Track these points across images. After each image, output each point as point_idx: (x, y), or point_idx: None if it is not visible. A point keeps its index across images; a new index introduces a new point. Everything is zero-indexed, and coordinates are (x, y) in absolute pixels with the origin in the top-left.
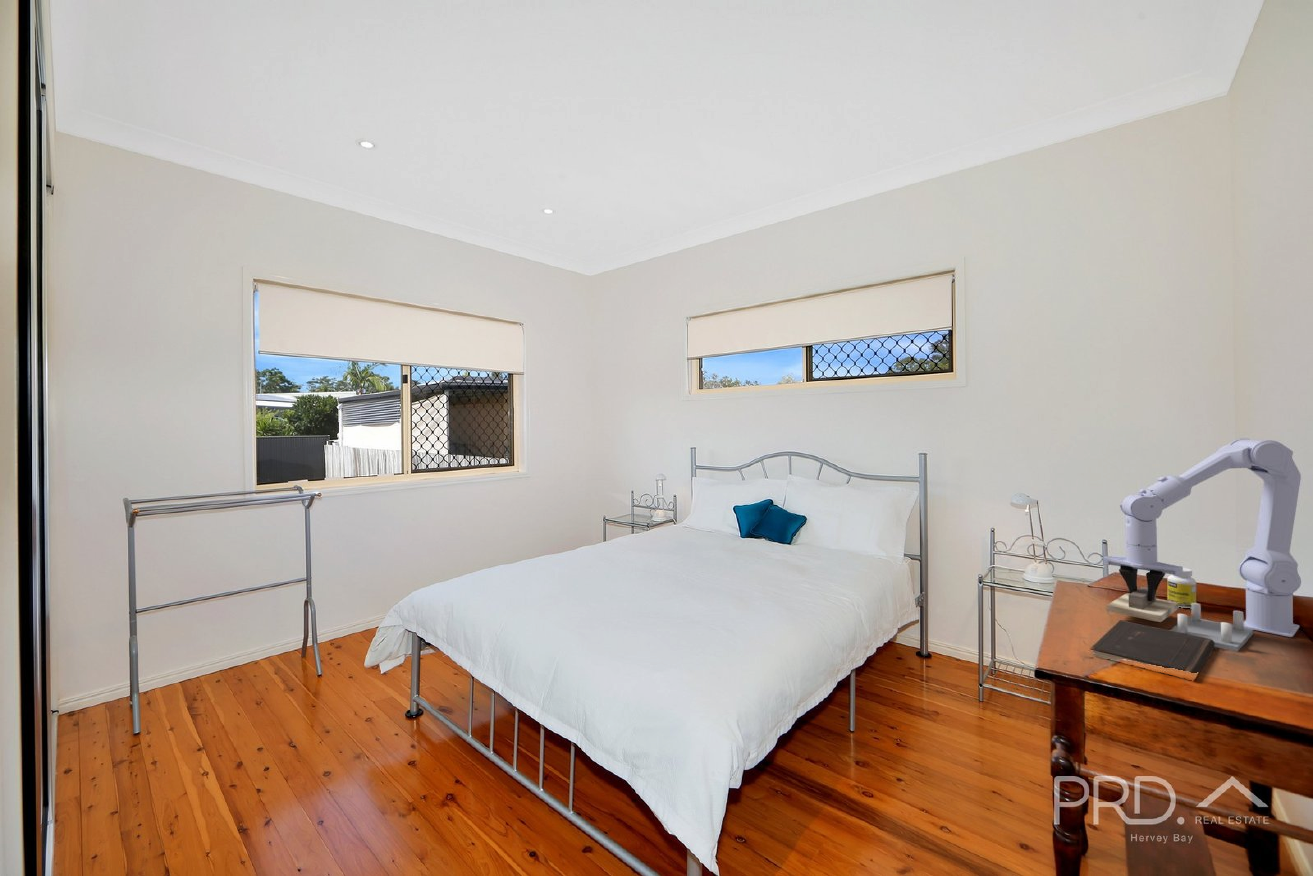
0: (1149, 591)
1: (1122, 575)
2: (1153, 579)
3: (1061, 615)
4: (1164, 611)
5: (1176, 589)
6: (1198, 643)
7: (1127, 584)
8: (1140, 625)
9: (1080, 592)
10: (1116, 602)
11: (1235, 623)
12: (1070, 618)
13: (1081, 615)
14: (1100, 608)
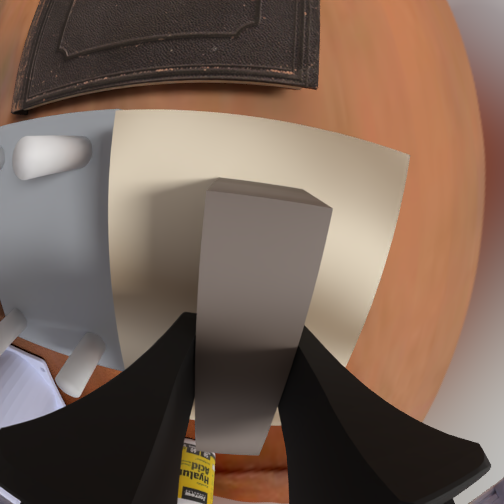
0: (172, 354)
1: (439, 437)
2: (61, 443)
3: (477, 141)
4: (115, 234)
5: (184, 482)
6: (42, 26)
7: (358, 383)
8: (220, 58)
9: (404, 412)
10: (369, 251)
11: (9, 321)
12: (457, 118)
13: (439, 181)
14: (383, 321)
